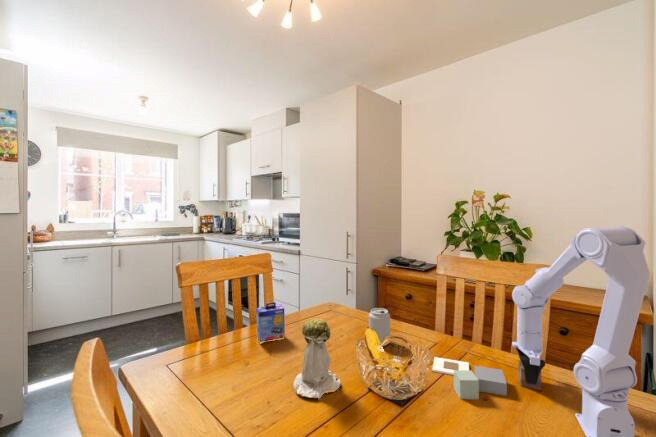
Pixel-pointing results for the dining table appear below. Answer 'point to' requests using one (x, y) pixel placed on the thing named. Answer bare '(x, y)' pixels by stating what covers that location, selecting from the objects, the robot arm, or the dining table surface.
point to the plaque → (448, 365)
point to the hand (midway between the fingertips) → (529, 378)
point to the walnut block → (523, 380)
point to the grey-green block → (466, 384)
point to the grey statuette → (315, 362)
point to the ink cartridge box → (270, 322)
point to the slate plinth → (491, 380)
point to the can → (380, 322)
